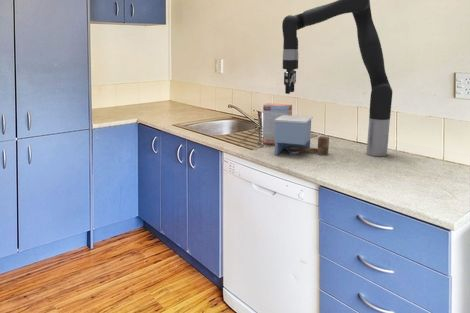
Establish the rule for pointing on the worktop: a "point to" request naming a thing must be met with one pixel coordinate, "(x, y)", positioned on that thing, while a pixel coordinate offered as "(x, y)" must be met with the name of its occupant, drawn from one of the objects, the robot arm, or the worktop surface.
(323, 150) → the wooden mallet
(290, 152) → the grey metal dome
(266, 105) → the cracker box
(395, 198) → the worktop surface
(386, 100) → the robot arm
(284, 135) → the cabinet
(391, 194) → the worktop surface
